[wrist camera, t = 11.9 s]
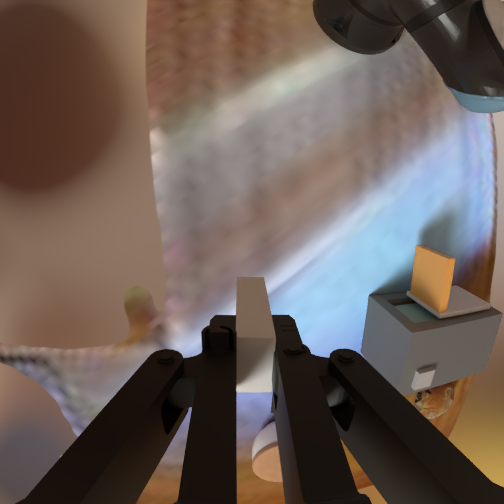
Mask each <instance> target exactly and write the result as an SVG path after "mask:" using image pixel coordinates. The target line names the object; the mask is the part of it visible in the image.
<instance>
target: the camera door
mask: <svg viewBox="0 0 504 504" xmlns="http://www.w3.org/2000/svg"><path fill="white" fill-rule="evenodd" d="M454 265H455V258H453V257H451V256H448V255H446V254H444V253H441V252H439V251H436V250H434V249H431V248H429V247H427V246H424V245H416V250H415V259H414V267H413V275H412V282H411V289H410V291H407V293H406V295H407V296H409V297H410V298H412V299H413V300H414V301H416V302H417V303H419V304H420V305H421V306H423V307H424V308H426V309H427V310H428V311H430V312H431V313H433V314H434V315H435V316H437V317H438V318H439V319H441V318H446V317H452V316H457V315H462V314H467V313H472V312H476V311H481V310H486V309H490V307H491V304H489V303H487V302H486V301H484V300H482V299H480V298H479V297H477V296H475V295H473V294H471V293H470V292H468V291H466V290H464V289H462V288H461V287H459V286H457V285H455V286H451V284H452V278H453V272H454Z"/></svg>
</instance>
